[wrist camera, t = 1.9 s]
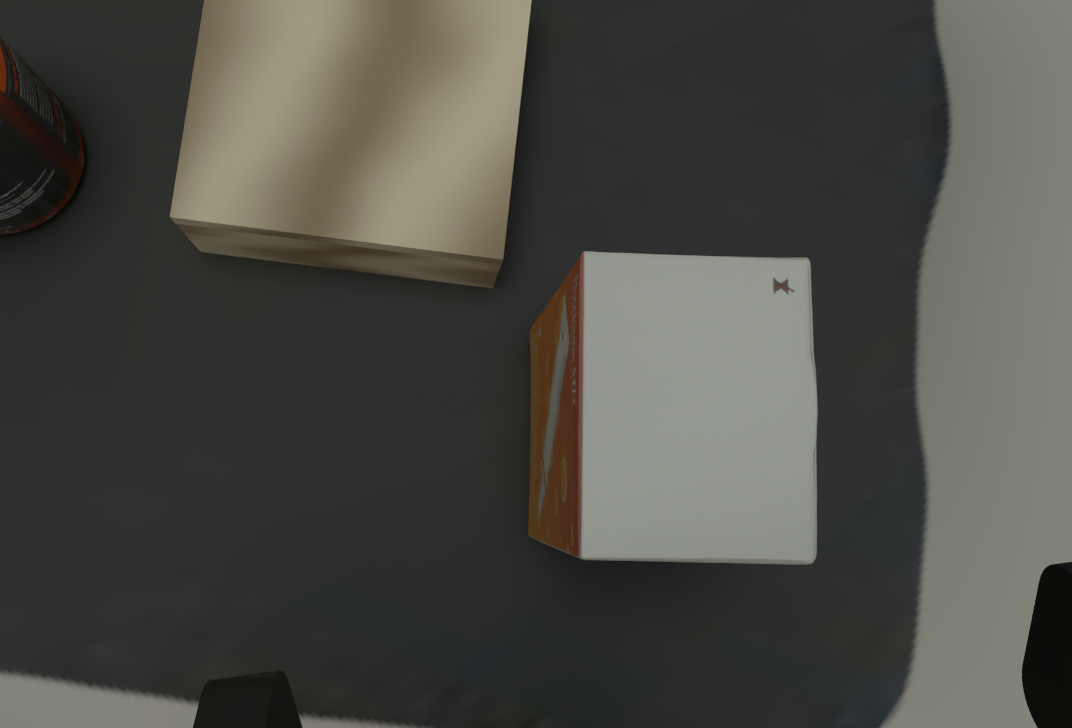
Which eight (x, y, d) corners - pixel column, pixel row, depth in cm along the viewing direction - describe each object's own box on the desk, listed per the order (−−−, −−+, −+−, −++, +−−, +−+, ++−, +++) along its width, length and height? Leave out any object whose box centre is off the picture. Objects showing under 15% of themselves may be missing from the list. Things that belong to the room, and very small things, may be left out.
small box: (526, 327, 39) (579, 241, 26) (688, 332, 39) (817, 251, 27) (523, 541, 38) (577, 563, 25) (689, 543, 38) (825, 565, 26)
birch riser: (201, 253, 38) (169, 216, 33) (243, -19, 40) (218, -92, 35) (492, 289, 39) (503, 259, 34) (521, 23, 41) (536, -42, 36)
